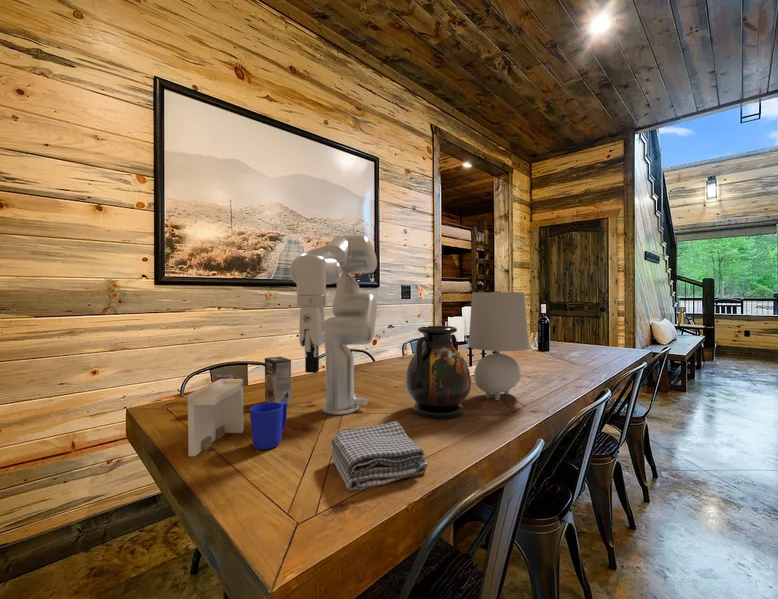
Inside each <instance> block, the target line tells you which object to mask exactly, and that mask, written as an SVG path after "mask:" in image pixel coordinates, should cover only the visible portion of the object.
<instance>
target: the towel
mask: <svg viewBox="0 0 778 599" xmlns="http://www.w3.org/2000/svg"><path fill="white" fill-rule="evenodd" d="M331 445H332V447H333V450H332V452H331V459H332V462H333V463H334V466H335V468H336V470H337V471H338V474H339V475H340V477H341V479H342V480H343V482H344V484H345V487H346V489H347V491H349V492H351V491H353V492H359V491H362V490H363V491H364V490H367V489H370V488H374V487H377V486H382V485H386V484H389V483H392V482H396V481H400V480H402V479H405V478H406V479H407V478H409V477H414V476H419V475H423V474H425V472H426V471H427V470H426V469H427V467H428V463H427V462H426V460H425V451H424V449H423V448H422V447H420V445H418V444H417V443H416V442H415V441H414V440H412V439H411V438H410V437H409V436H408V435H407V432H405V429H404V428H403V427H402V425H401V424H400V423H399V421H397V420H396V421H390V422H388V423H382V424H377V425H371V426H364V427H359V428H354V429H347V430H343V431H340V432H338V433H337V434H336V435H334V437H333V438H332V439H331Z"/></svg>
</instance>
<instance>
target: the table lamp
mask: <svg viewBox="0 0 778 599" xmlns="http://www.w3.org/2000/svg"><path fill="white" fill-rule="evenodd" d="M469 318H470V319H469V321H470V322H469V332H468V334H469V335H468V347H469V348H471V349H473V350H480V351H490V352H495V353H490V354H488V355H487V354H486V355H485V356H483V357H482V358H480V359H479V361H477V364H476V366H475V368H474V372H473V373H474V375H473V377H474V378H473V380H474V383H475V385H476V387H478V388H479V389H480V391H482V392H485V397H487V398H486V399H488V398H489V399H491V396H492V394H494V398H495V401H496V400H499V401H500V399H501V393H504V395H509V393H510V390H512V389H513V388H515V387H516V386H517V385H518V383H519V382H520V380H521V375H522V372H521V371H522V370H521V367H520V365H519V363H518V362H517V360H515V359H514V358H513V357H511V356H509V355H506V354H504V353H500V352H521V351H527V350H529V349H530V342H529V332H528V319H527V309H526V296H525V292H524V291H523V292H521V291H520V292H519V291H515V292H514V291H504V292H502V291H501V290H494V292H493V291H492V292H472V293H471V305H470V317H469Z"/></svg>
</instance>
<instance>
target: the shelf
mask: <svg viewBox="0 0 778 599" xmlns="http://www.w3.org/2000/svg"><path fill="white" fill-rule="evenodd" d="M244 421H245V420H244V379H243V378H234V379H220V380H218V381H216V382H211V383H209V384H207V385H205V386H203V387H201V388H198V389H196V390H194V391H192V392H190V393H188V394H187V426H188V427H187V429H188V430H187V432H188V434H187V435H188V436H187V438H188V439H187V441H188V442H187V443H188V445H187V446H188V457H196V456H197V455H199V454H200V453H201V452H205V451H207V450H209V449H210V448H211V447H212V446H213V442H214V441H216V440H221V439H222V438H223V437H224V436H225V435H226V434H242V433H243V432H244V431H245V430H244V428H245V427H244V426H245V425H244Z"/></svg>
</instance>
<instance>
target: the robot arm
mask: <svg viewBox="0 0 778 599" xmlns="http://www.w3.org/2000/svg"><path fill="white" fill-rule="evenodd" d="M377 266H378V258H377V255H376V251H375V250H374V247H373V245H372V242H371V240H370V239H369V237H367V236H366V235H363V234H362V235H361V234H355V235H339V236H336V237H334V238H333V239H332V240H331V241H329V243H327V244H326V245H323V246H320V247H317V248H314V249H310V250H308V251H303V252H302V253H300V254H298V255H297V256H296V257H295V258H294V259H293V260H292V262H291V264H290V268H289V276H290V278H291V280H292V281H293V282H294V283H295V284H296V308H297V309H300V310H299V327H298V328H299V330H298V332H299V336H298V337H299V345H300V346H301V347H304V358H305V363H304V364H305V367H304V368H305V373H309V374H313V373H314V374H317V373H318V372H319V371H320V356H319V355H320V354H319V353H320V352H319V351H320V350H319V349H320V346H321V345H324V351H325V352H324V353H325V354H324V355H325V403H324V404H322V405H321V412H323V413H324V414H326V415H333V416H334V415H335V416H337V415H341V416H342V415H348V414H352V413H355V412H357V411H358V410H359V408H360V407H359V406H360V405H366V406H367V405H368V398H365V397H358V396H356V395H357V394H356V393H355V377H354V376H355V366H354V365H355V364H354V363H355V362H354V361H355V360H354V355H353V352H352V351H351V350H350V348H349V347H348V346H350V345H354V346H356V345H357V346H358V345H362V346H363V345H365V346H366V345H369V344H371V343H372V342H373V339H374V336H375V328H376V320H377V312H378V311H377V310H378V305H377V304H378V303H377V299H376V297H375V295H374V294H372V293H370V292H360V285H359V283H358V281H356V279H355V277H352V275H351V274H370V273H373V272H375V271H376V269H377ZM332 284H336V290H335V294H334V298H333V301H332V302H333V303H332V311H331V312H332V314H333V316H331V317H328V318H326V319H325V311H324V310H325V309H326V308H327V285H332ZM324 308H325V309H324Z"/></svg>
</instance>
